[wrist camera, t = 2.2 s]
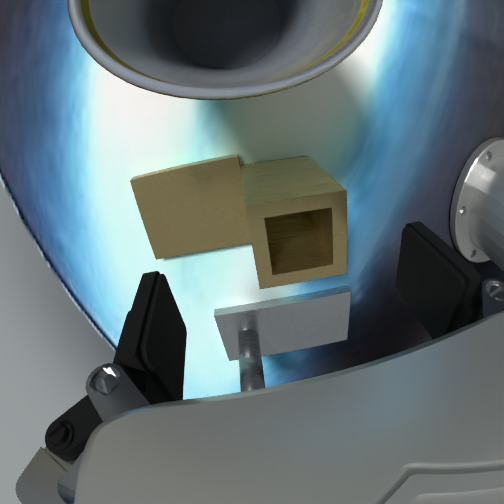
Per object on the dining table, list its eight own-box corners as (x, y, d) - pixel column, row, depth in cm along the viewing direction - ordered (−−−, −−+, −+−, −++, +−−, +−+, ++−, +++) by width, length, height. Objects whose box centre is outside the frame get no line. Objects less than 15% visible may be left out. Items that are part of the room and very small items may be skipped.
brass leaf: (306, 144, 18) (345, 172, 12) (313, 227, 21) (345, 285, 15) (133, 176, 18) (90, 220, 12) (158, 253, 21) (135, 319, 15)
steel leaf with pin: (347, 285, 24) (384, 357, 17) (344, 333, 27) (370, 400, 20) (214, 309, 24) (211, 390, 17) (229, 354, 27) (231, 427, 20)
